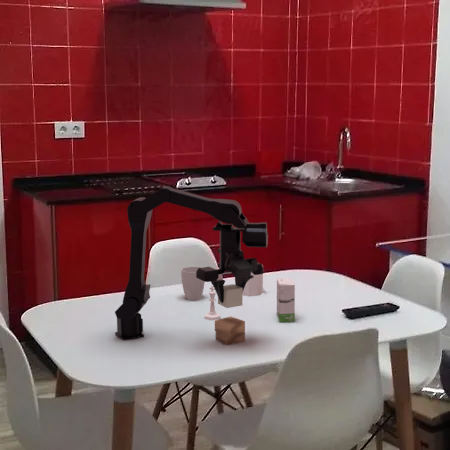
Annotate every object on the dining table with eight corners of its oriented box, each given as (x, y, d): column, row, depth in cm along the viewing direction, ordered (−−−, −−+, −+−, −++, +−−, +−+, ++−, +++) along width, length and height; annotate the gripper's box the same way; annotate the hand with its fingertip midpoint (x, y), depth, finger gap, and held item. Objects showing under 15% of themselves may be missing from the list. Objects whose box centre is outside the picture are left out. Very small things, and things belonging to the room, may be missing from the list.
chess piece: (211, 314, 238) (211, 283, 237) (223, 317, 235) (223, 285, 233) (201, 317, 235) (200, 286, 233) (213, 320, 232) (213, 289, 230)
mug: (267, 293, 262) (267, 265, 260) (247, 297, 257) (247, 269, 255) (246, 286, 272) (247, 259, 270) (227, 289, 267) (227, 262, 265)
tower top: (229, 336, 209) (229, 325, 208) (214, 330, 213) (214, 320, 213) (244, 331, 213) (244, 321, 212) (230, 326, 217) (230, 316, 217)
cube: (226, 308, 209) (226, 290, 208) (217, 303, 213) (217, 286, 212) (242, 305, 211) (242, 288, 210) (233, 301, 216) (233, 284, 215)
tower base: (226, 346, 210) (226, 335, 209) (215, 340, 215) (215, 329, 214) (245, 342, 213) (245, 332, 212) (233, 336, 218) (233, 326, 217)
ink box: (295, 322, 230) (295, 284, 228) (278, 322, 230) (279, 284, 228) (291, 313, 238) (292, 277, 236) (275, 314, 238) (276, 277, 236)
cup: (210, 297, 257) (209, 268, 256) (196, 303, 251) (196, 273, 249) (190, 293, 262) (190, 265, 260) (176, 299, 255) (176, 270, 253)
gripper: (215, 255, 198) (215, 313, 201) (274, 248, 207) (274, 303, 210) (195, 247, 207) (195, 303, 210) (252, 241, 217) (252, 294, 219)
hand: (230, 301), depth 212 cm, fingers closed on cube, 5 cm apart
